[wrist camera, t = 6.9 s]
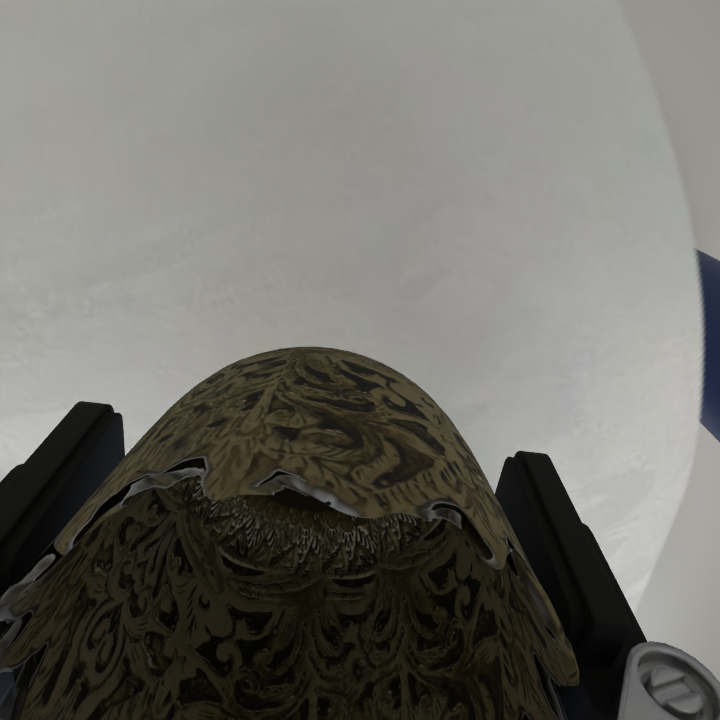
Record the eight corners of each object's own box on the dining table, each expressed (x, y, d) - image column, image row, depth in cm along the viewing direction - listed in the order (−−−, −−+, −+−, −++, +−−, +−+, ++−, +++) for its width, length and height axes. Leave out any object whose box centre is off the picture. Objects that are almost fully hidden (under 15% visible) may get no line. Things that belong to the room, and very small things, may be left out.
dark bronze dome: (431, 221, 12) (537, 426, 5) (494, 481, 15) (613, 836, 8) (120, 313, 13) (-170, 598, 6) (240, 540, 16) (145, 904, 9)
